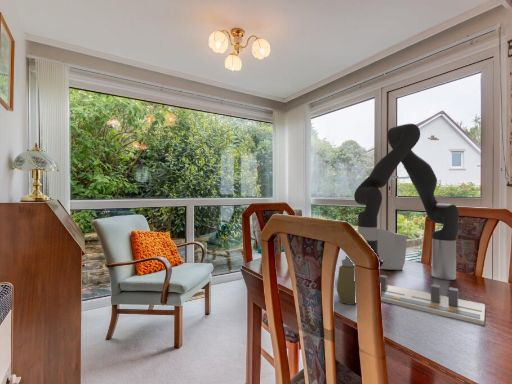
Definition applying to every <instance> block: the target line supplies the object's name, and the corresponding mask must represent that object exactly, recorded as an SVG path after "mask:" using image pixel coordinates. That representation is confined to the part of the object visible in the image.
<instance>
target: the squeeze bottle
mask: <svg viewBox="0 0 512 384" xmlns="http://www.w3.org/2000/svg"><path fill="white" fill-rule="evenodd" d="M344 258H345V259H342V260H341V265H340V266H339V268H338V274H337V275H338V276H337V285H336V293H337V296H338V299H339V302H341V303H343V304H346V305H354V304H353V303H355V281H354V265H353V263H352V262H351V261H350V259H349V258H348V257H347V256H346V255H345V257H344Z"/></svg>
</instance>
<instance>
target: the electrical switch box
mask: <svg viewBox="0 0 512 384" xmlns="http://www.w3.org/2000/svg"><path fill="white" fill-rule="evenodd" d="M377 231H378V255H379V258H380V259H381V260H384V261H385V263H384V264H383V265H382V266H381V267H380V269H379V270H393V271H396V270H397V271H402V270H403V269H404V266H405V262H406V254H407V253H406V252H407V243H408V241H407V235H406V234H403V233H399V232H398V233H396V232H392V231H389V230H386V229H384V228H377Z"/></svg>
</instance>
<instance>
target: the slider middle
mask: <svg viewBox="0 0 512 384" xmlns="http://www.w3.org/2000/svg"><path fill="white" fill-rule="evenodd" d="M430 294H431V301H433V302H438V303H439V302H440V300H441V296H442V295H441V285H439V284H434V283H432V284H431V286H430Z"/></svg>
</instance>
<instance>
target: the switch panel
mask: <svg viewBox="0 0 512 384" xmlns="http://www.w3.org/2000/svg"><path fill="white" fill-rule="evenodd" d="M381 299H382V301H381V302H384V303H389V304H391V305H392V304H393V305H397V306H401V307H405V308H409V309H415V310H418V311H422V312H427V313H430V314H434V315H438V316H439V315H440V316H444V317H448V318H453V319H456V320H460V321H465V322H470V323H473V324H477V325H482V326H485V318H486V316H485V315H486V304H484V303H480V302H476V301H470V300H465V299H460V298H458V306H452V305H448V303H449V296H445V295H441V300H440V302H439V303H438V302H433V301H431V292H430V293H429V292H426V291H419V290H416V289H410V288H405V287H401V286H395V285H391V284H388V289H387V290H386V291H382V290H381Z"/></svg>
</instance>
